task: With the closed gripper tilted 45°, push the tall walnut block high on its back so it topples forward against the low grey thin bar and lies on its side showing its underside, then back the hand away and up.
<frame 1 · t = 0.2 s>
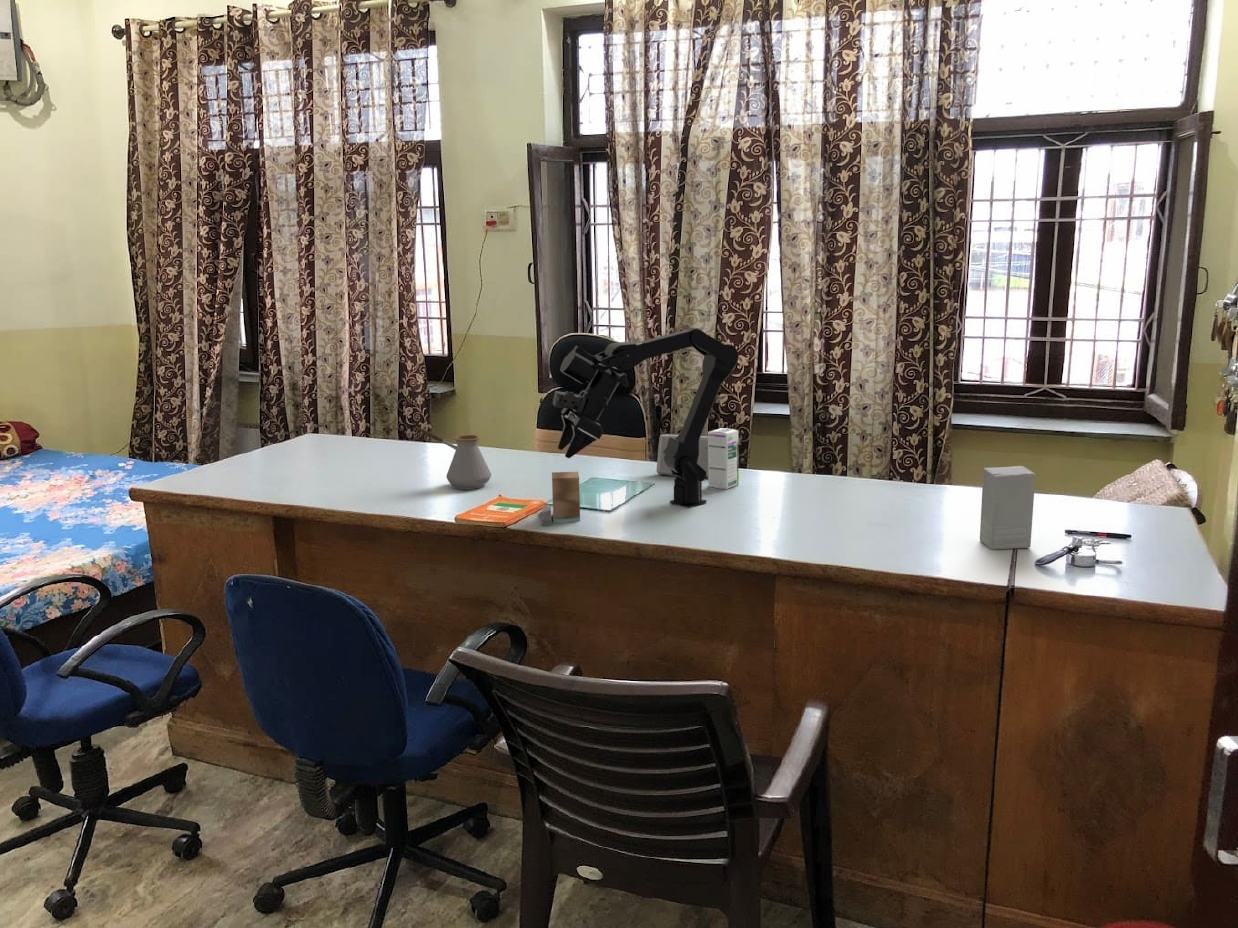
hand: (563, 453, 222), 15 cm above the table, tool tilted 30°, fingers open, 9 cm apart
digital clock: (686, 476, 263), on the table
grey thin bar: (546, 518, 223), on the table
coffee pot: (452, 485, 256), on the table
syrup box: (723, 486, 250), on the table
walnut block: (566, 517, 223), on the table
skincare box: (1004, 546, 197), on the table
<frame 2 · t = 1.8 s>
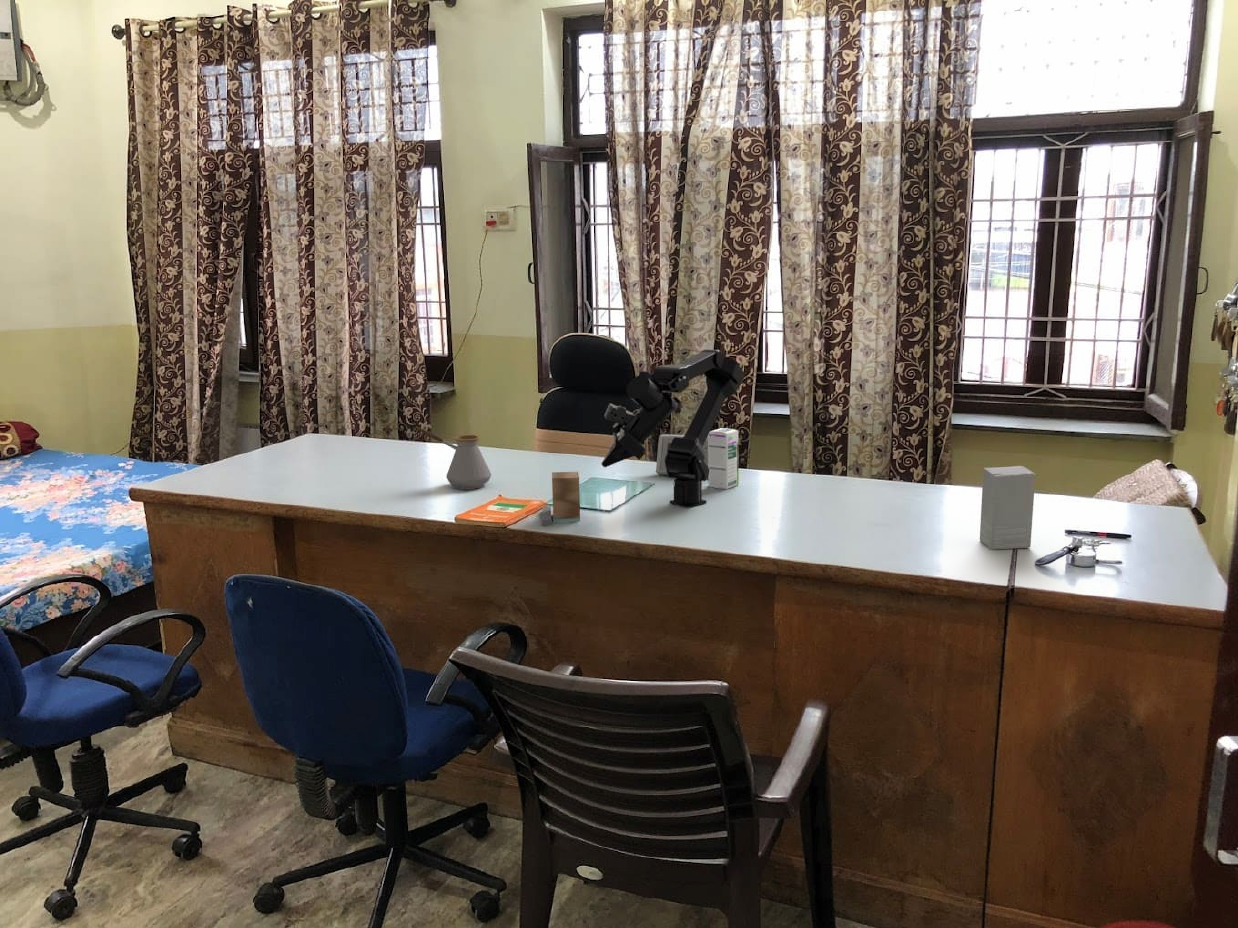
hand: (602, 465, 221), 12 cm above the table, tool tilted 45°, fingers closed
nothing on the table moved.
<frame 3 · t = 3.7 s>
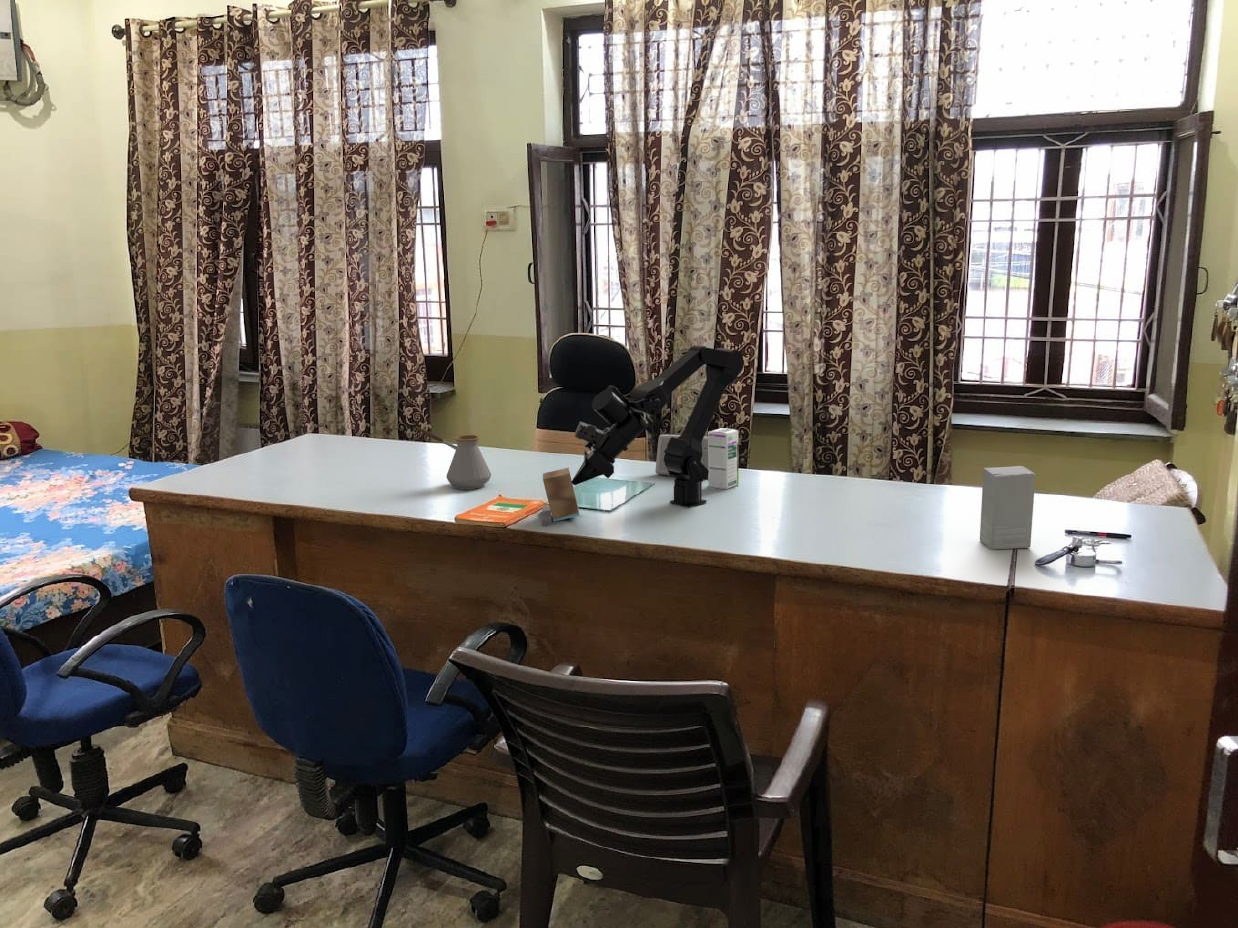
hand: (572, 483, 221), 8 cm above the table, tool tilted 45°, fingers closed
walnut block: (566, 515, 223), point 1 cm above the table, tilted 12°, touching gripper
everything else where it was.
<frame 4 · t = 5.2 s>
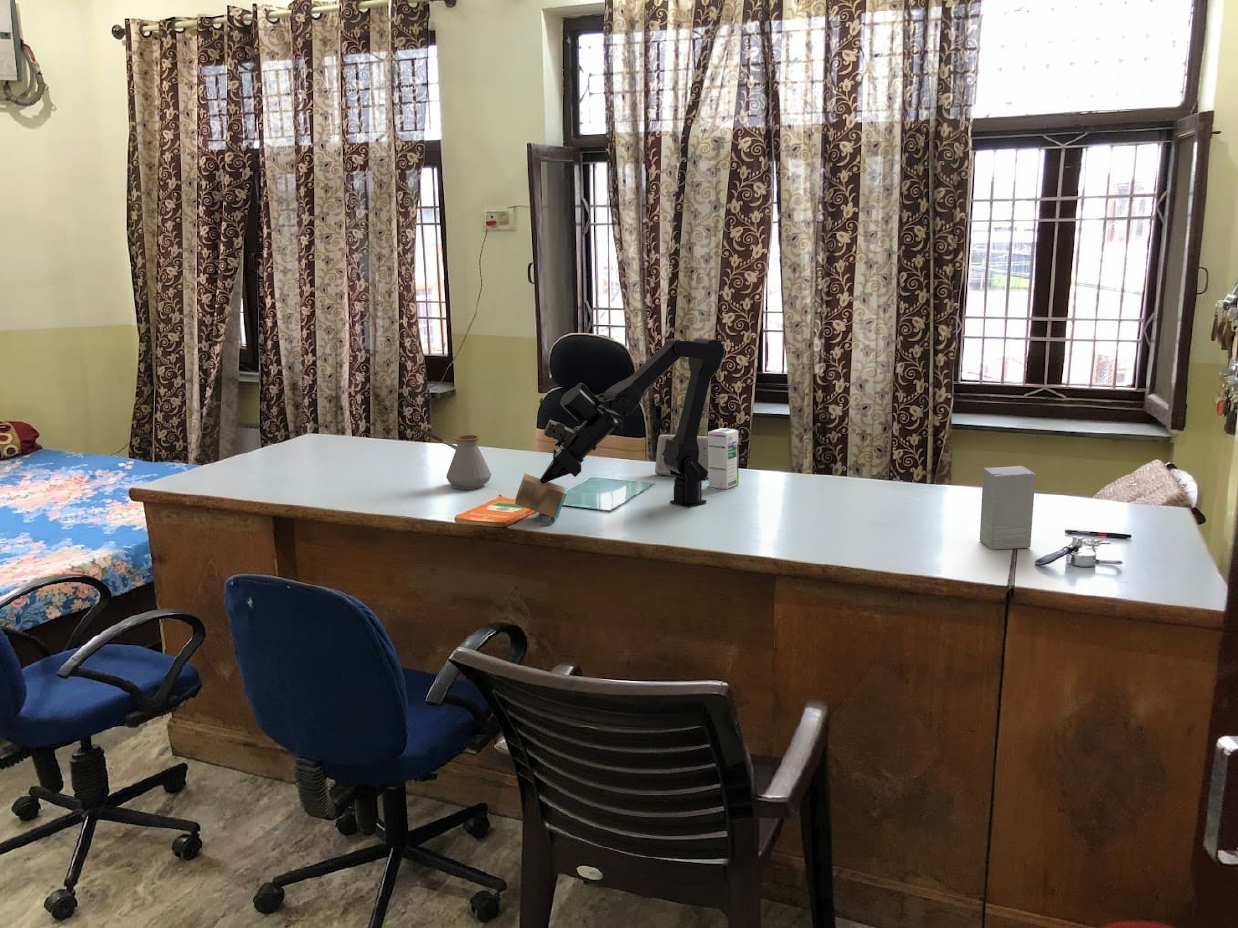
hand: (541, 481, 220), 9 cm above the table, tool tilted 45°, fingers closed, pressing on walnut block
walnut block: (561, 503, 222), point 3 cm above the table, tilted 68°, touching grey thin bar, gripper
everything else where it was.
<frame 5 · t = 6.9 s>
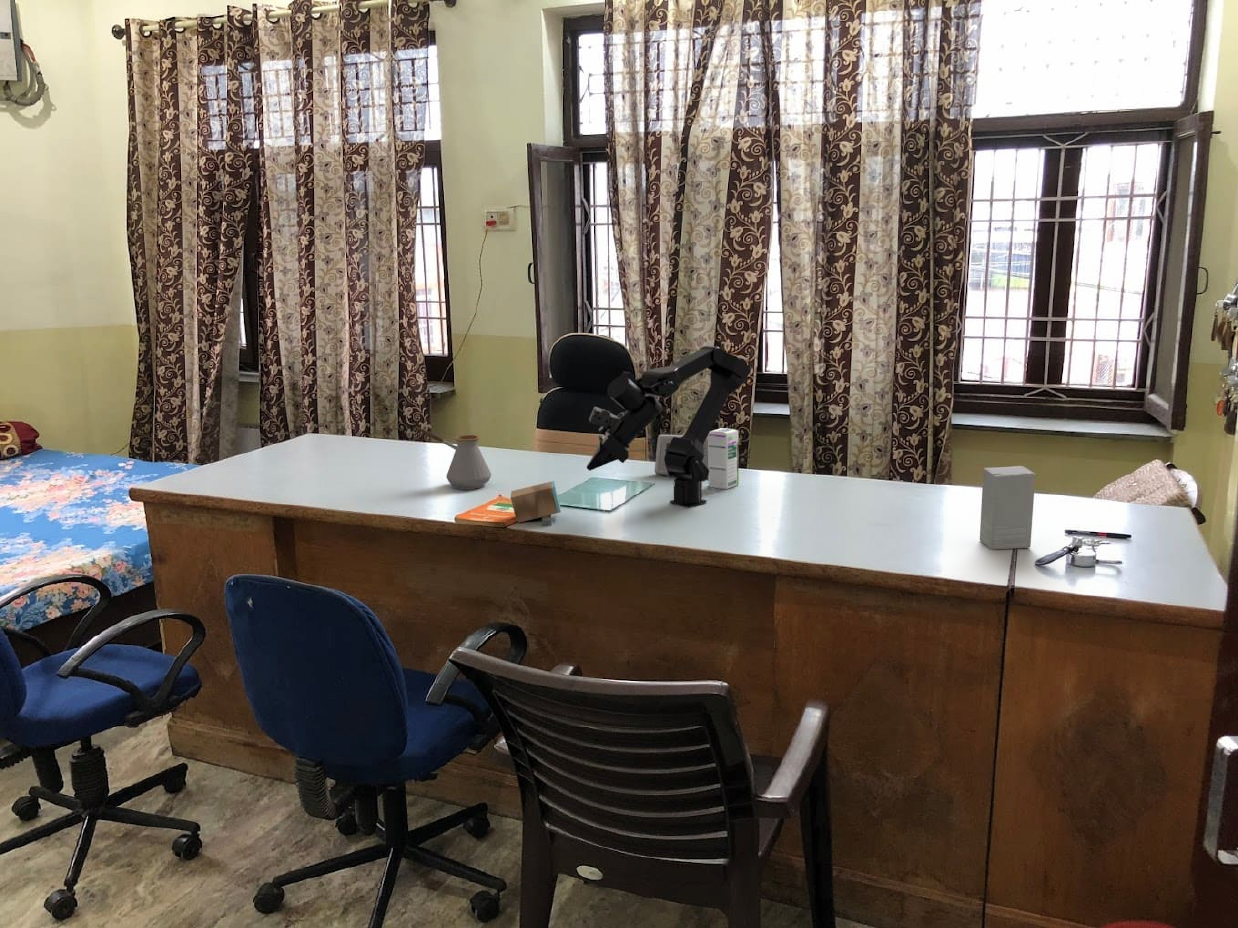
hand: (587, 469, 221), 11 cm above the table, tool tilted 45°, fingers closed
walnut block: (557, 496, 222), point 5 cm above the table, tilted 102°, touching grey thin bar
everything else where it was.
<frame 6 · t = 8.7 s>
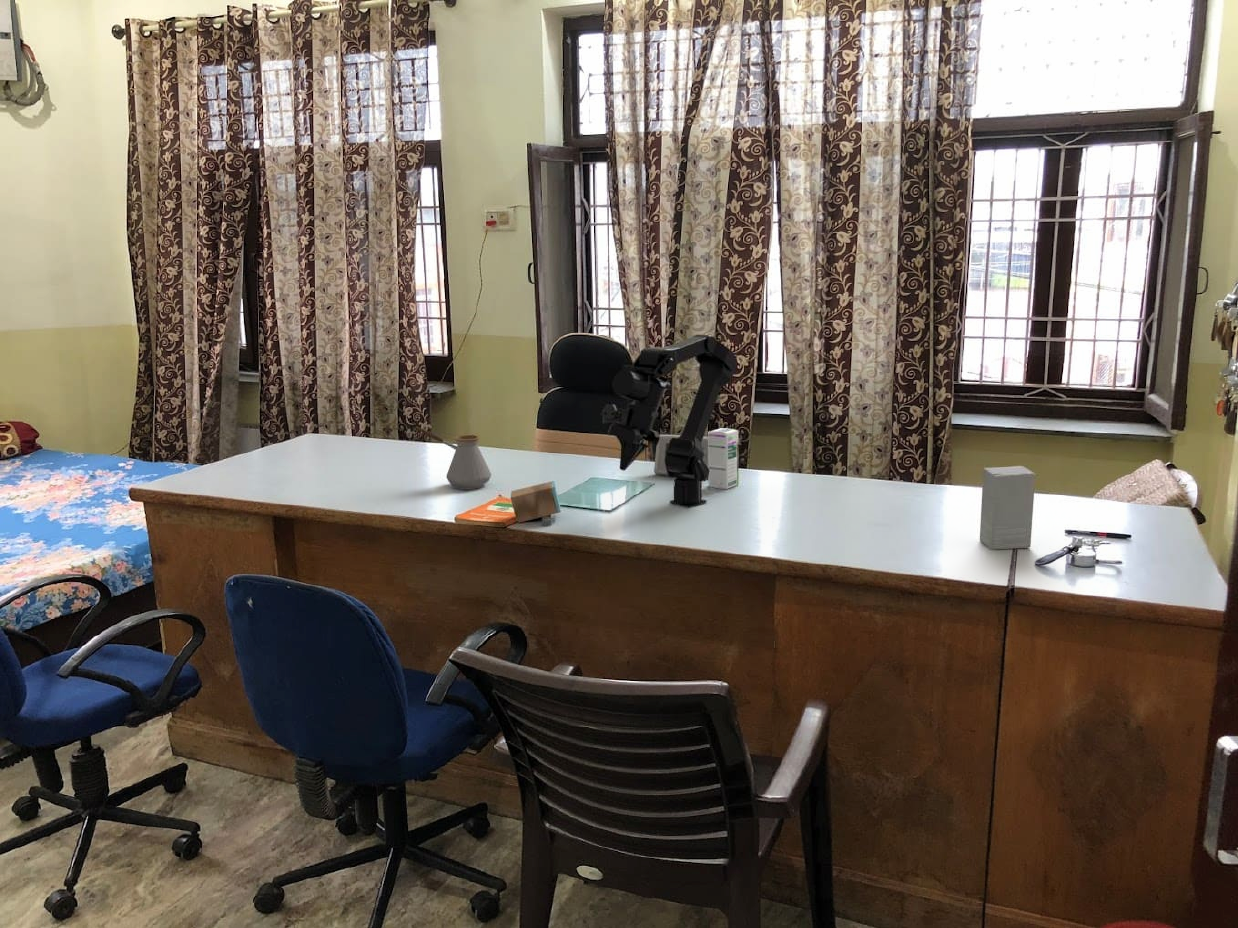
hand: (622, 469, 219), 11 cm above the table, tool tilted 20°, fingers closed
nothing on the table moved.
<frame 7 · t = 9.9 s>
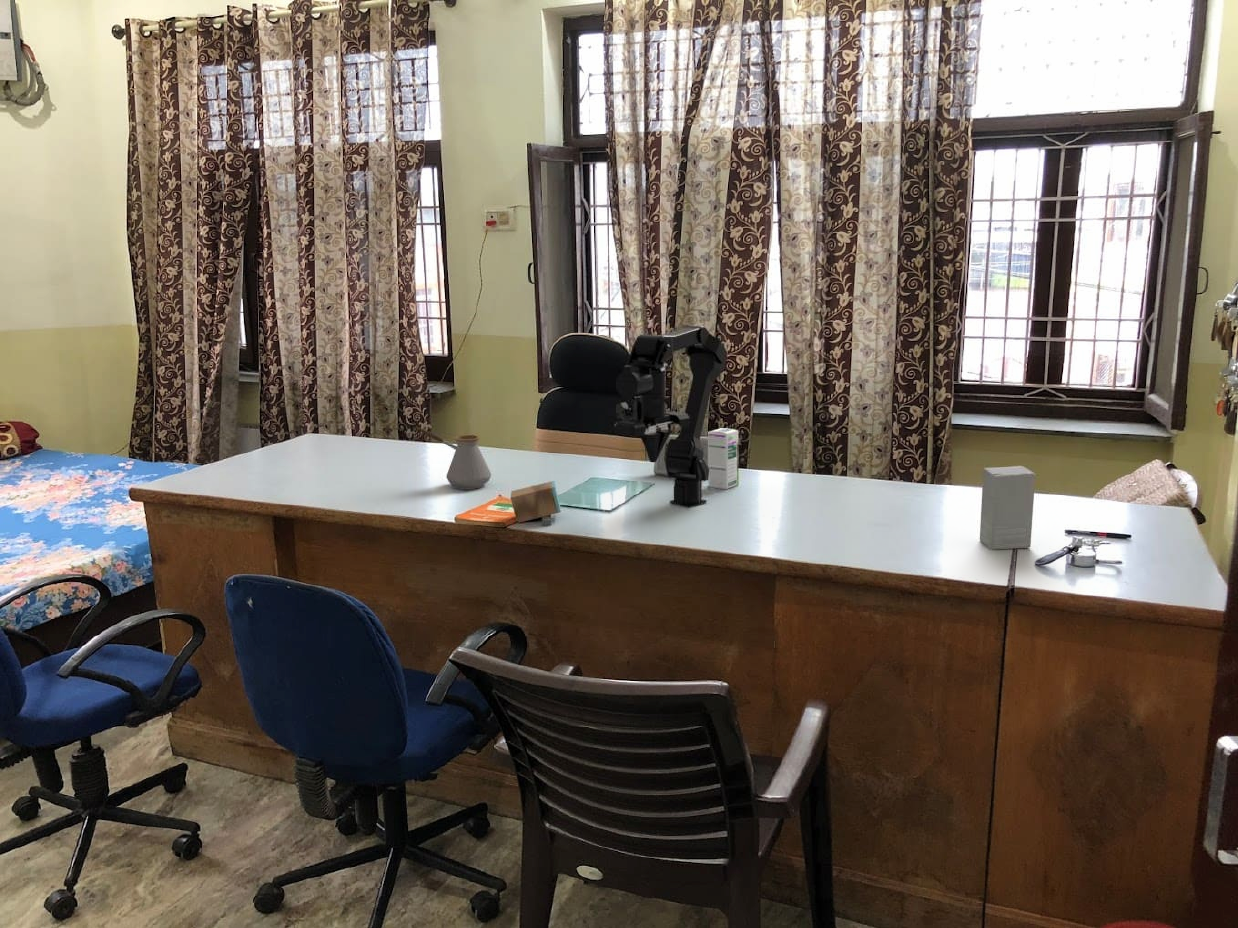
hand: (653, 461, 218), 13 cm above the table, tool pointing down, fingers closed
nothing on the table moved.
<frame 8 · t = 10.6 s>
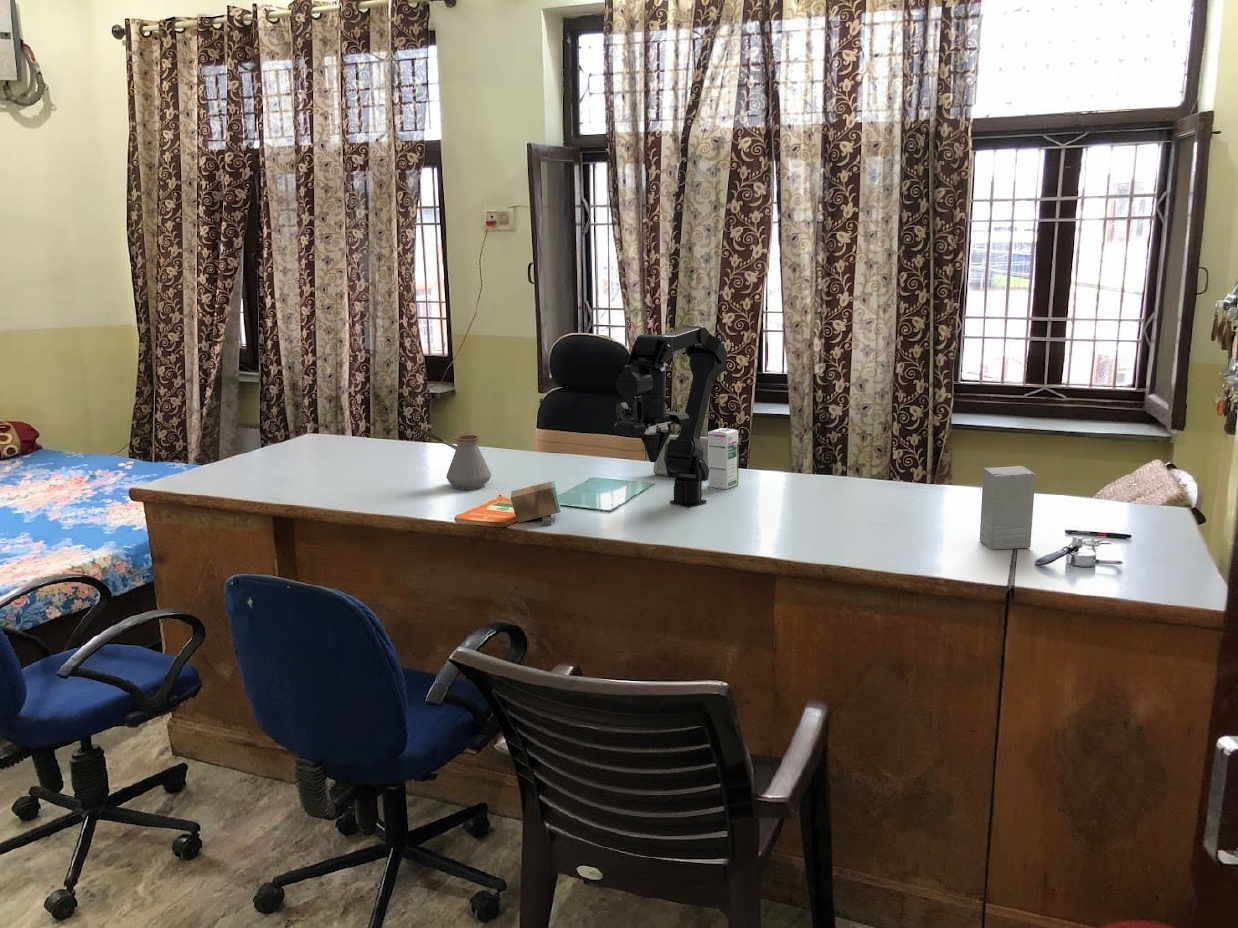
hand: (653, 461, 218), 13 cm above the table, tool pointing down, fingers closed
nothing on the table moved.
at the end: walnut block tilted 102°; walnut block inside the target area (0.9 cm from its centre), point 5.0 cm above the table; the gripper is holding nothing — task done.
